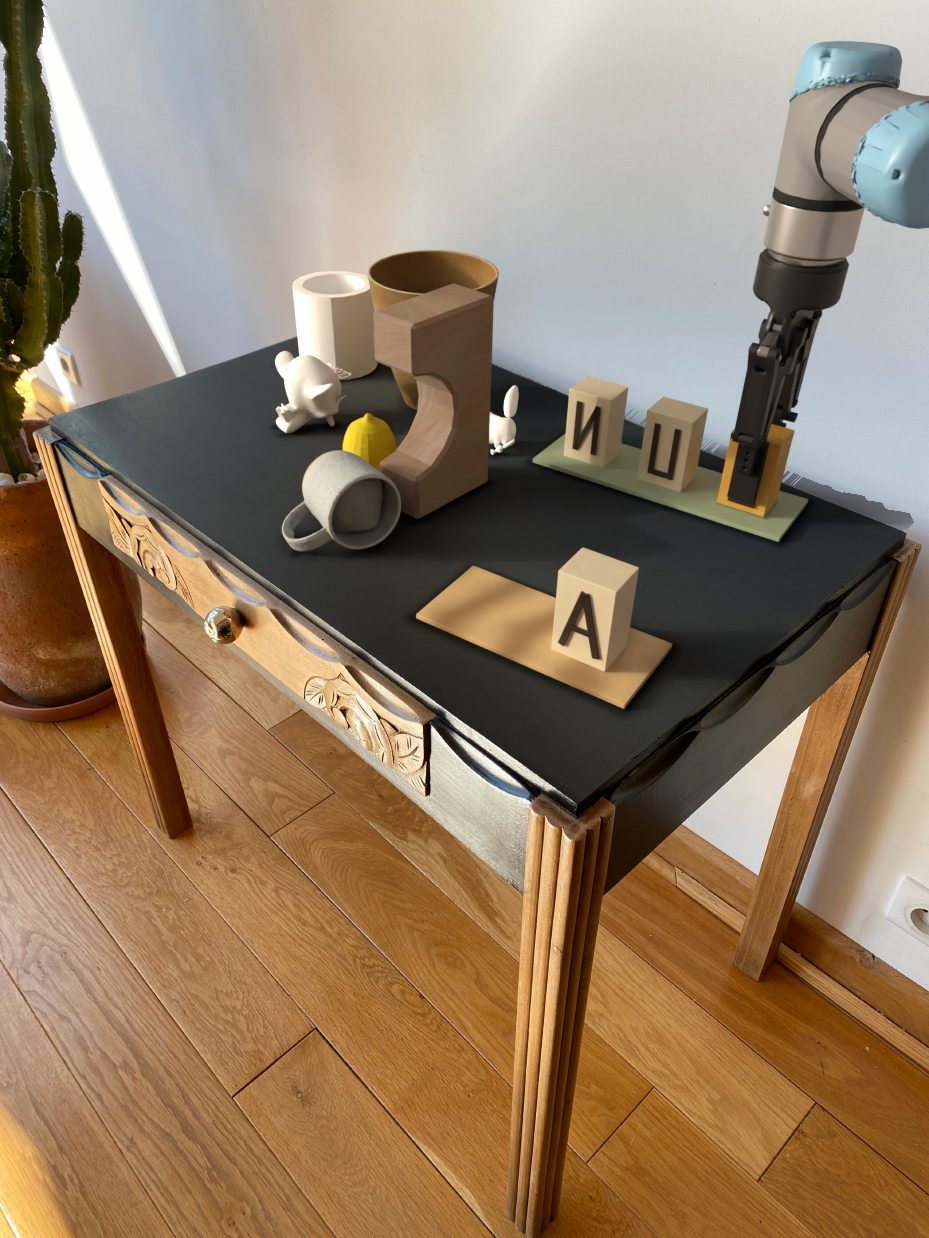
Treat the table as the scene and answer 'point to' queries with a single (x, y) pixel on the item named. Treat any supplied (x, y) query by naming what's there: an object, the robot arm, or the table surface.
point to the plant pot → (425, 286)
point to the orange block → (770, 476)
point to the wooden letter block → (595, 421)
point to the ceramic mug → (344, 503)
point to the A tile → (593, 608)
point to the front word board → (536, 634)
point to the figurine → (307, 390)
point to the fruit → (370, 440)
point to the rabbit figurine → (504, 423)
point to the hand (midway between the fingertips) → (750, 488)
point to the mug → (336, 320)
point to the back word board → (691, 499)
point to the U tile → (672, 443)
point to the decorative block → (440, 393)
